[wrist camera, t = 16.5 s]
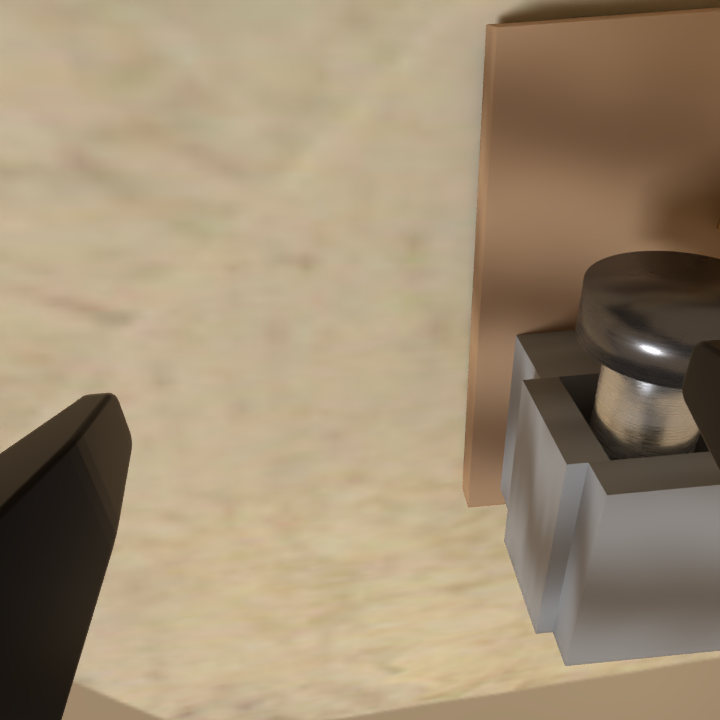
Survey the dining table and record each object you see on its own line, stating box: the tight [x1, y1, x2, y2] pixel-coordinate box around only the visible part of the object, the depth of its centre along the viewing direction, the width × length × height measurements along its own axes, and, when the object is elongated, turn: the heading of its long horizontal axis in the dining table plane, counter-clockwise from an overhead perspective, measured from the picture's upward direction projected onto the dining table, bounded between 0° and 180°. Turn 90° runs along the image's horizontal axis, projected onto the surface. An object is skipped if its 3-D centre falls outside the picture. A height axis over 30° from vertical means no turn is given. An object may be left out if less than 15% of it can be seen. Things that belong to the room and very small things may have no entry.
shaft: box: [575, 251, 720, 461], centre depth 19 cm, size 15×5×5 cm, turn 3°
